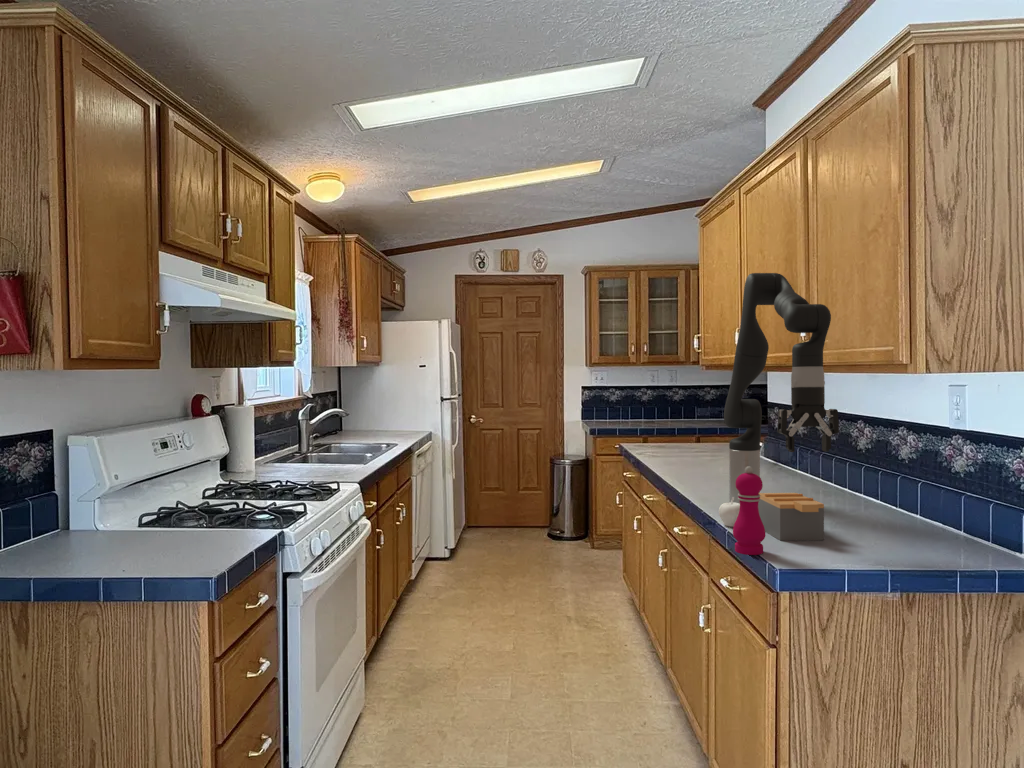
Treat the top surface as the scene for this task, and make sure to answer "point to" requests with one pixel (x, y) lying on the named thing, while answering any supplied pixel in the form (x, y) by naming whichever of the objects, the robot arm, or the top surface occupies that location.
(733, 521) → the apple
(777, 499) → the wooden paddle board
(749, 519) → the pepper mill
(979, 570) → the top surface
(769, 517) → the tub
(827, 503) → the top surface
